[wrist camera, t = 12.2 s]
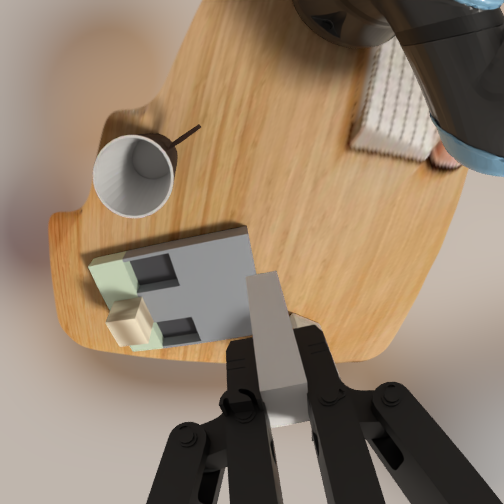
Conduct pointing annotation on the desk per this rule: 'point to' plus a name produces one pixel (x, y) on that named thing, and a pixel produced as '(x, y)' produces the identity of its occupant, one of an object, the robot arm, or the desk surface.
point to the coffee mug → (136, 173)
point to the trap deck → (184, 286)
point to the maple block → (130, 322)
